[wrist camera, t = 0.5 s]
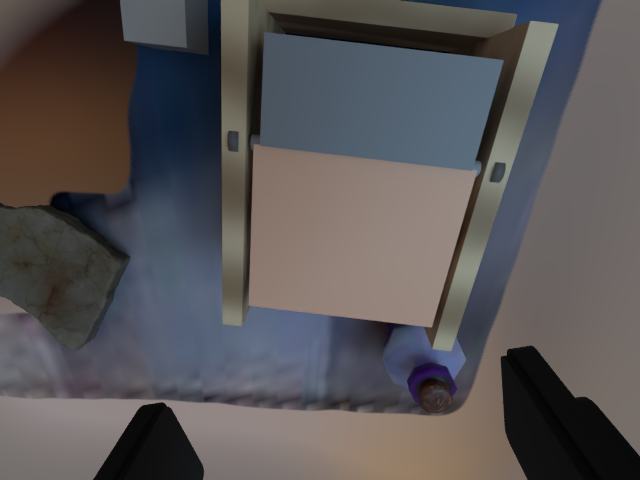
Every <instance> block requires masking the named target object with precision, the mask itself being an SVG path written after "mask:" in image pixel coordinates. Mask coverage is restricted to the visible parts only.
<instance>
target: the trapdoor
mask: <svg viewBox="0 0 640 480" xmlns="http://www.w3.org/2000/svg"><path fill="white" fill-rule="evenodd" d="M503 62H504V60H499V59H490V58H482V57H473V56H465V55H456V54H448V53H439V52H431V51H422V50H413V49H405V48H396V47H388V46H379V45H371V44H362V43H354V42H345V41H337V40H328V39H320V38H311V37H303V36H294V35H286V34H277V33H269V32H264V51H263V77H262V104H261V130H260V135H255V134H252V136H251V142H250V146H251V150H252V151H253V181H252V214H251V247H250V280H249V306H256V307H264V308H272V309H281V310H289V311H298V312H306V313H314V314H323V315H331V316H339V317H348V318H356V319H365V320H373V321H381V322H390V323H398V324H407V325H415V326H423V327H432V325H433V322H434V318H435V315H436V311H437V308H438V304H439V301H440V298H441V294H442V291H443V287H444V284H445V280H446V277H447V273H448V270H449V267H450V263H451V260H452V256H453V253H454V249H455V246H456V242H457V239H458V236H459V232H460V229H461V225H462V222H463V218H464V215H465V211H466V208H467V205H468V201H469V198H470V194H471V191H472V187H473V184H474V180H475V177H477V176H478V175H479V174H480V171H481V162H480V161H475V160H476V156H477V153H478V149H479V146H480V142H481V139H482V135H483V132H484V128H485V125H486V121H487V118H488V114H489V111H490V107H491V104H492V100H493V97H494V93H495V90H496V86H497V83H498V79H499V76H500V72H501V69H502V65H503Z"/></svg>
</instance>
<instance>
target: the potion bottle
mask: <svg viewBox="0 0 640 480" xmlns="http://www.w3.org/2000/svg"><path fill="white" fill-rule="evenodd" d="M388 324H389V329H388V337H387V340H386V342H385V344H384V352H383V359H382V364H383V365H384V367H385V369H386V371H387V372H388V374H389V376H390V378H391V379H392V381H393V383H394V384H395V385H399V386H402V387H406V388H409V391H410V393H411V394H412V396H413V398H414V400H415V402H416V403H419V404H420V405H421V407H422V408H423V409H424V410H426V411H427V412H431V413H440V412H443V411H446V410H447V409H448V407H449V406H450V405H451V404H452V403H453V397H452V396H453V395H454V393H455V392H456V390H457V388H456V385H455V383H454V379H455V377H456V375H457V374H458V372H459V371H460V369H461V367H462V366H463V364H464V363H465V361H466V358H465V356H464V354H463V351H462V349H461V347H460V345H459V343H458V340H457V338H455V341H454V344H453V347H452V350H451V351H444V350H436V349H432V347H431V345H430V342H429V339H428V337H427V334H426V331H425V329H424V327H423V326H415V325H407V324H398V323H390V322H388Z"/></svg>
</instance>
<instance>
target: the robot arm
mask: <svg viewBox="0 0 640 480" xmlns="http://www.w3.org/2000/svg"><path fill="white" fill-rule="evenodd" d="M501 369H502V370H501V371H502V387H503V404H504V422H505V431H506V435H507V438H508V440H509V443H510V445H511V447H512V449H513V451H514V453H515V455H516V457H517V459H518V461H519V463H520V465H521V467H522V469H523V471H524V473H525V475H526V477H527V479H528V480H640V456H639V455H638V454H637V452H636V451H635V450H634V449H633V448H632V447H631V445H630V444H629V443H628V442H627V441H626V439H625V438H624V437H623V436H622V435H621V433H620V432H619V431H618V430H617V429H616V428H615V426H614V425H613V424H612V423H611V422H610V420H609V419H608V418H607V417H606V416H605V415H604V413H603V412H602V411H601V410H600V409H599V407H598V406H597V405H596V404H595V403H594V402H593V401H592V400H590V399H588V398H587V397H578V398H575V397H574V396H573V395H572V394H571V392H570V391H569V390H568V389H567V387H566V386H565V385H564V384H563V382H562V381H561V380H560V379H559V377H558V376H557V375H556V374H555V372H554V371H553V370H552V369H551V368H550V366H549V365H548V363H547V362H546V361H545V360H544V358H543V357H542V356H541V355H540V353H539V352H538V351H537V350H536V349H535V348H534V347H533V346H526V347H520V348H513V349H508V350H507V356H502V357H501ZM203 476H204V469H203V466H202V463H201V461H200V460H199V458H198V456H197V454H196V452H195V451H194V449H193V447H192V445H191V443H190V442H189V440H188V438H187V436H186V434H185V432H184V431H183V429H182V427H181V425H180V423H179V422H178V420H177V418H176V416H175V415H174V413H173V411H172V409H171V408H169V407H167V406H166V404H165V403H163V402H162V403H155V404H148V405H143V406H142V407H140V408H139V409H138V411H137V412H136V414H135V415H134V417H133V418H132V420H131V422H130V423H129V425H128V426H127V428H126V429H125V431H124V433H123V434H122V436H121V437H120V439H119V440H118V442H117V443H116V445H115V447H114V448H113V450H112V451H111V453H110V455H109V456H108V457H107V459H106V461H105V462H104V464H103V465H102V467H101V468H100V470H99V471H98V473H97V475H96V476H95V478H94V479H93V480H203Z"/></svg>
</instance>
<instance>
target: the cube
mask: <svg viewBox="0 0 640 480" xmlns="http://www.w3.org/2000/svg"><path fill="white" fill-rule="evenodd" d="M120 5H121V14H122V24H123V34H124V40H125V41H128V42H132V43H135V44H139V45H143V46H146V47H150V48H154V49H161V50H170V51H178V52H187V53H195V54H204V55H209V52H208V0H120Z"/></svg>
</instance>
